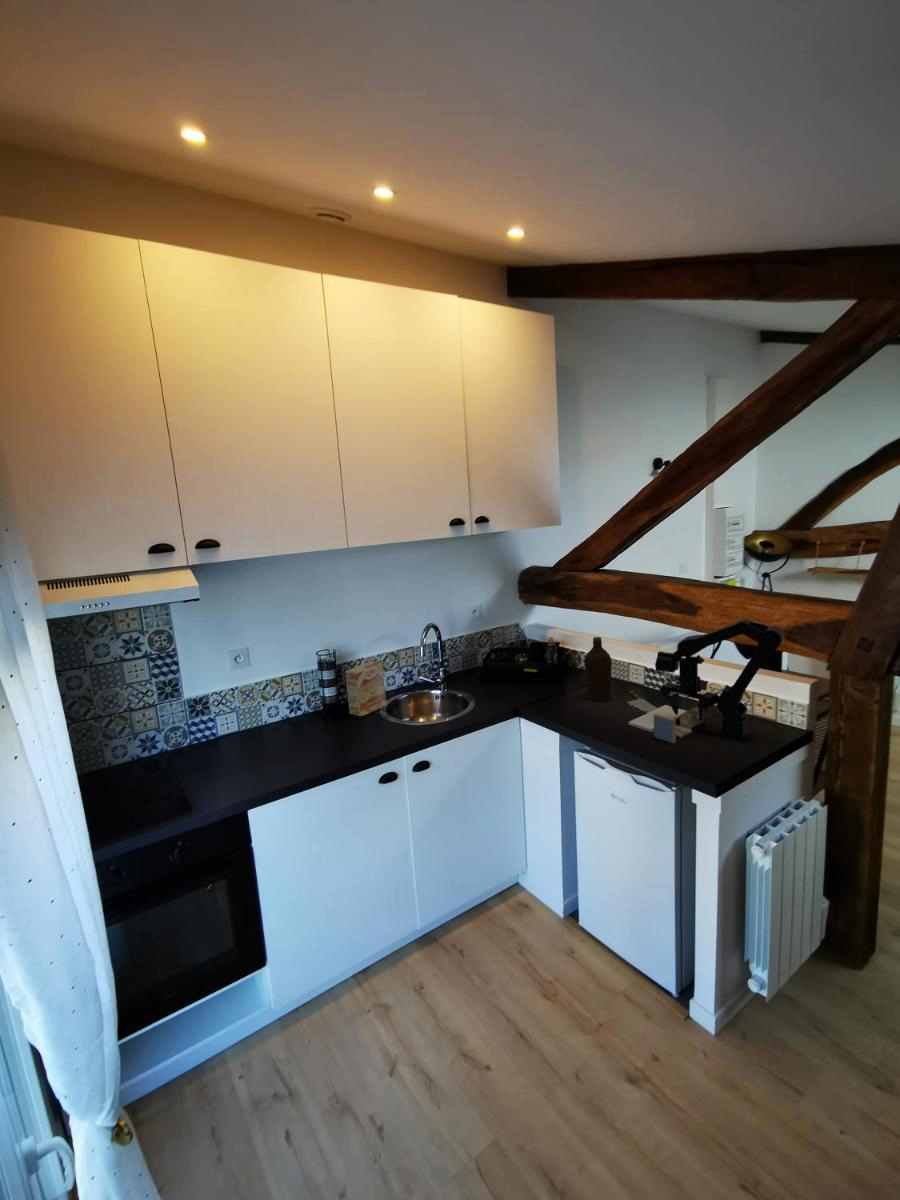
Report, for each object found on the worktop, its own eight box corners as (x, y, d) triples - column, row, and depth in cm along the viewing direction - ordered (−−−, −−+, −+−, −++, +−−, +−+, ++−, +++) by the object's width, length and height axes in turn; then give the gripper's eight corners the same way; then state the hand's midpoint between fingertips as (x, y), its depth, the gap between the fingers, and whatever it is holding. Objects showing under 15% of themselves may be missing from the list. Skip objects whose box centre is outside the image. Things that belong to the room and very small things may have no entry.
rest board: (687, 713, 203) (687, 711, 203) (651, 731, 191) (651, 729, 191) (665, 707, 211) (665, 704, 210) (628, 724, 198) (628, 721, 198)
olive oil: (617, 696, 225) (616, 636, 221) (603, 704, 218) (601, 642, 214) (595, 691, 233) (593, 633, 229) (580, 699, 226) (578, 639, 222)
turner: (691, 718, 199) (691, 705, 198) (707, 723, 194) (707, 709, 193) (665, 732, 190) (665, 718, 189) (681, 737, 185) (681, 723, 184)
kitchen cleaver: (614, 693, 228) (637, 689, 229) (614, 695, 228) (637, 691, 229) (639, 716, 204) (665, 711, 205) (639, 718, 204) (665, 714, 205)
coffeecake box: (361, 720, 223) (356, 673, 219) (349, 717, 227) (344, 670, 223) (387, 707, 234) (383, 662, 231) (375, 704, 239) (370, 660, 235)
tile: (675, 741, 182) (675, 718, 181) (672, 743, 181) (672, 720, 180) (656, 735, 188) (656, 713, 186) (653, 737, 187) (653, 714, 185)
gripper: (728, 674, 186) (727, 718, 189) (676, 663, 201) (677, 704, 204) (710, 682, 180) (710, 728, 183) (658, 671, 195) (659, 713, 198)
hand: (688, 717), depth 192 cm, fingers open, 9 cm apart
